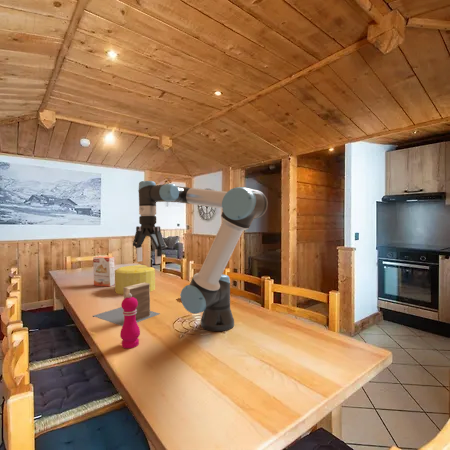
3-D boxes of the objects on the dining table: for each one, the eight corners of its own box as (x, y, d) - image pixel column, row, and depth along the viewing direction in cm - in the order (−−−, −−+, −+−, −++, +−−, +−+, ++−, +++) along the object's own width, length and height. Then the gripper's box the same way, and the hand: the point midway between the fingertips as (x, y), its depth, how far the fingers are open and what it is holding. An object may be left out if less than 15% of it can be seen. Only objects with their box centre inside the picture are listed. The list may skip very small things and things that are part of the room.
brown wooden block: (150, 315, 142) (150, 283, 141) (129, 323, 132) (129, 288, 131) (144, 314, 144) (144, 282, 144) (124, 321, 134) (123, 287, 134)
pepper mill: (133, 339, 116) (132, 289, 115) (144, 344, 111) (143, 292, 111) (116, 345, 110) (115, 293, 110) (127, 351, 106) (126, 297, 105)
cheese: (160, 285, 208) (159, 264, 207) (146, 295, 182) (146, 271, 181) (125, 284, 210) (125, 264, 210) (107, 294, 184) (107, 271, 184)
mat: (160, 314, 145) (160, 313, 145) (124, 328, 128) (124, 326, 128) (128, 305, 160) (128, 304, 160) (92, 316, 143) (92, 315, 143)
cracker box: (93, 285, 208) (92, 257, 207) (99, 284, 213) (98, 255, 213) (109, 287, 204) (109, 257, 203) (115, 285, 209) (114, 256, 209)
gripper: (124, 215, 135) (125, 261, 136) (159, 215, 121) (160, 266, 122) (137, 215, 141) (138, 259, 142) (172, 215, 127) (173, 263, 128)
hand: (148, 262), depth 132 cm, fingers open, 12 cm apart
